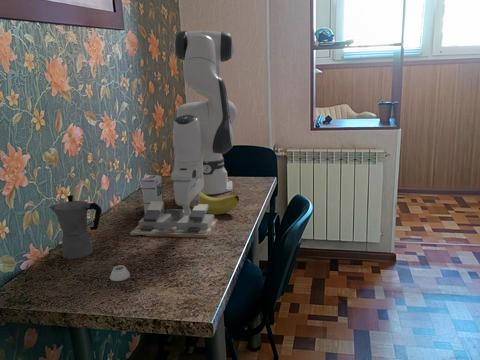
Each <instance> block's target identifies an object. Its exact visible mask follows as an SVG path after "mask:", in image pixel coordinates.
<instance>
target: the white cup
mask: <svg viewBox="0 0 480 360" xmlns="http://www.w3.org/2000/svg"><path fill="white" fill-rule="evenodd" d="M130 273H131V272H130V271H129V270H128V269H127V268H126V266H125V265H122V264H118V265H116V266H113V268H112V270H111V273H110V275H109V279H110V281H113V282H122V281H123V282H124V281H125V280H127V279H129V278H130V276H131V274H130Z"/></svg>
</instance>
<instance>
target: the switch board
mask: <svg viewBox="0 0 480 360" xmlns="http://www.w3.org/2000/svg"><path fill="white" fill-rule="evenodd" d="M218 221H219V220H218V218H214V221H213V223H212V224H211V225H210V227H209V228H208V229H200V227H189V229H184V228H177V227H165V228H154V226H143V227H139V224H138V225H137V226H135V228H134V229H132V230H131V231H130V235H129V236H133V235H146V236H145V237H165V238H166V237H169V238H171V237H172V238H173V237H174V238H198V239H199V238H203V239H204V238H205V239H207V238H209V236H210V235H211V233H212V231H213V230H214V228H215V227H216V225H217V224H218Z"/></svg>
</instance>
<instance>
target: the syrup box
mask: <svg viewBox="0 0 480 360" xmlns="http://www.w3.org/2000/svg"><path fill="white" fill-rule="evenodd" d="M162 181H163V180H162V175H160V174H149V175H146V176H145V177H143V178H141V179H140V183H141V191H142V199H143V200H142V201H143V209H144V210H143V211H144V215H145V214H146V212H147V210H148V207H149V205H150V203H151V201H160V202H163V203H164V205H163V207H162V210H161V212H160V213H163V214H164V213H165V212H166V209H165V202H164V193H163V192H164V191H163V183H162Z"/></svg>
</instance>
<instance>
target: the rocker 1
mask: <svg viewBox="0 0 480 360" xmlns="http://www.w3.org/2000/svg"><path fill="white" fill-rule="evenodd" d="M163 205H164V206H165V202H164V203H163V202H160V201H151V203H150V205H149V207H148V210H147V212H146V214H145V213H144V217H142V218H143V220H144V221H146V222H157V219H158V217H159V215H160V212H161V210H162V207H163Z"/></svg>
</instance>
